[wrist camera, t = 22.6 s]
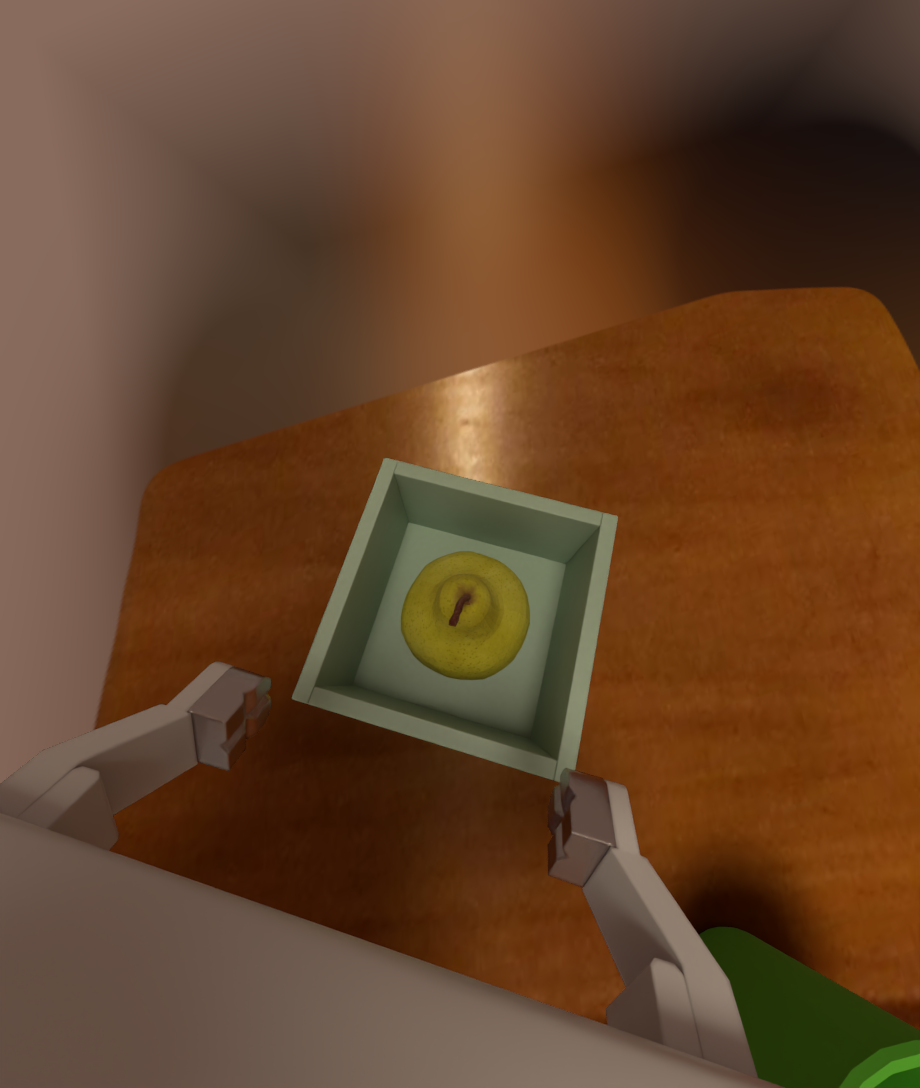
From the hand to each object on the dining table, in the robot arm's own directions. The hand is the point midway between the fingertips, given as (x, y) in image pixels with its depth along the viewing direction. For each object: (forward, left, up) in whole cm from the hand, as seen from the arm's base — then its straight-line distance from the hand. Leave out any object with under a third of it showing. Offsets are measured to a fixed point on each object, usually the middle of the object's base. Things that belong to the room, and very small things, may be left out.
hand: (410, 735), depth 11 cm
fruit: (0, +5, -14) cm, 15 cm away
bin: (0, +5, -15) cm, 16 cm away
